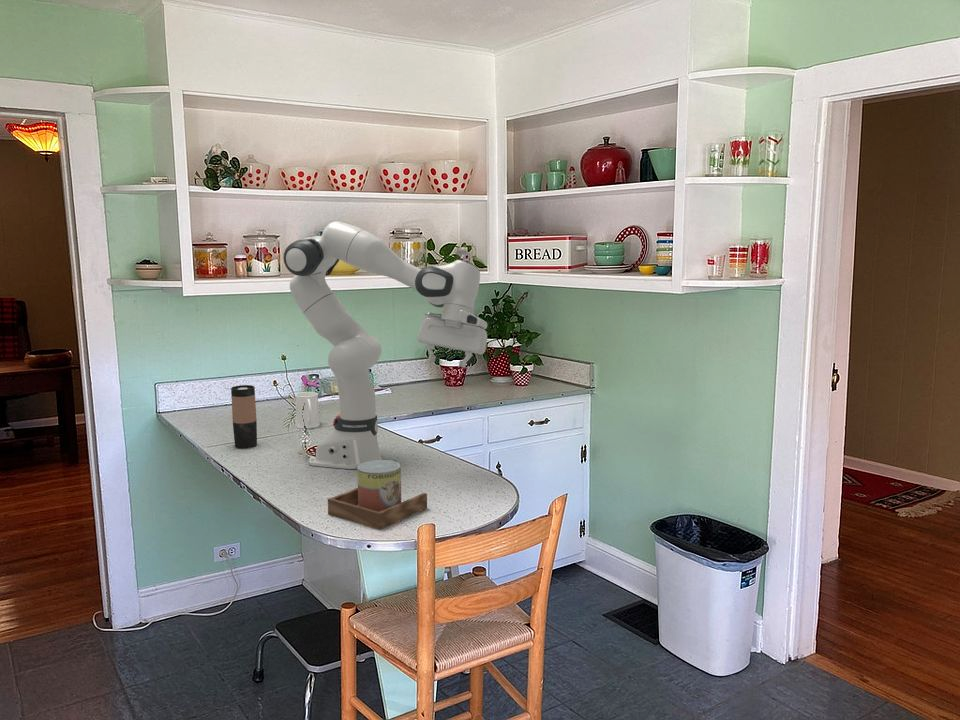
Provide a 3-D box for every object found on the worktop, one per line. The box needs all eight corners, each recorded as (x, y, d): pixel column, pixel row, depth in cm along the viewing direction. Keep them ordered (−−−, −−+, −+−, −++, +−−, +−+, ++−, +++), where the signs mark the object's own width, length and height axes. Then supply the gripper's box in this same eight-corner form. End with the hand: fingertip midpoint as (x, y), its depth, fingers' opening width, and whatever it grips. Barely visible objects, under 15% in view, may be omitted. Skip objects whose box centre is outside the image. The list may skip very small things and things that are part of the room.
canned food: (375, 521, 200) (374, 475, 198) (349, 510, 208) (348, 465, 206) (410, 510, 208) (409, 466, 206) (384, 499, 216) (383, 456, 214)
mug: (321, 430, 288) (320, 397, 286) (297, 432, 286) (295, 399, 284) (318, 422, 299) (317, 390, 297) (295, 424, 297) (293, 392, 295)
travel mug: (262, 443, 271) (259, 385, 268) (250, 449, 264) (246, 390, 260) (242, 442, 273) (238, 384, 270) (229, 448, 266) (226, 389, 262)
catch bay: (376, 494, 220) (376, 480, 219) (427, 508, 210) (426, 493, 209) (328, 514, 206) (327, 499, 205) (379, 529, 195) (379, 513, 195)
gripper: (419, 309, 230) (409, 356, 229) (486, 320, 224) (476, 369, 223) (427, 313, 236) (417, 359, 235) (492, 324, 230) (482, 371, 229)
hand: (446, 364), depth 229 cm, fingers open, 8 cm apart
